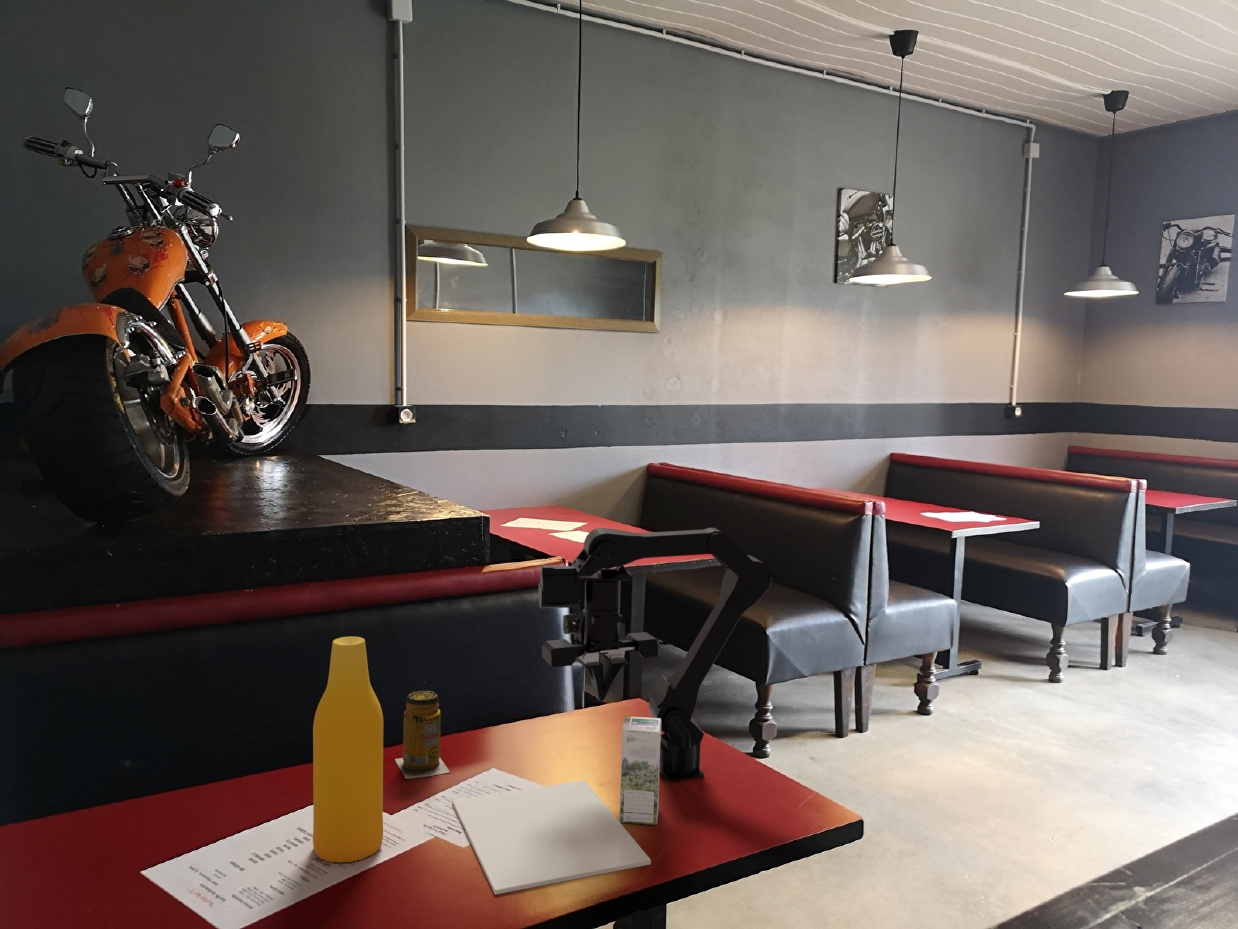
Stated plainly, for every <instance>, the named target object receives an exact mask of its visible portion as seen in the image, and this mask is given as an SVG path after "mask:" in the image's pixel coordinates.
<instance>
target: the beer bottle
mask: <svg viewBox="0 0 1238 929" xmlns="http://www.w3.org/2000/svg"><path fill="white" fill-rule="evenodd" d="M331 645H332V646H331V652H330V653H331V654H330V663H329V669H328V670H329V672H328V679H327V685H326V688H325V691H324V692H323V694H322V697H321V698H320V701H319V702H318V705H317V708H316V710H315V713H314V714H315V715H314V719H313V725H312V733H313V734H312V738H313V739H312V745H313V750H312V752H313V753H312V754H313V756H312V758H313V759H312V761H313V762H312V763H313V764H312V765H313V768H312V769H313V772H312V774H313V776H312V780H313V781H312V782H313V786H312V787H313V789H312V793H313V795H312V796H313V800H312V802H313V803H312V804H313V805H312V806H313V812H312V813H313V814H312V815H313V823H312V824H313V828H312V829H313V830H312V845H313V846H312V847H313V849H314V850H313V851H314V853H315V855H316V856H317V857H318V858H319V857H320V859H321V860H322V859H324V860H323V861H325V860H327V861H326V862H328V861H331V862H330V863H332V862H349V863H354V862H353V861H355V862H358V861H357V860H359V861H361V859H362V860H364V858H365V859H367V858H369V857H371V856H372V855H374V854H375V853H376V852H377V851H378V850H379V849H380V847H381V845H382V843H383V839H384V819H383V818H384V813H383V812H384V808H383V807H384V805H383V804H384V800H383V799H384V792H383V791H384V715H383V711H382V706H381V703H380V701H379V699H378V697H377V694H376V693H375V691H374V689H373V687H372V685H371V682H370V675H369V674H370V673H369V669H368V668H369V667H368V666H369V665H368V664H369V663H368V656H367V648H366V640H365V638H363V637H360V636H342V637H339V638H335V639H333V641H332V644H331ZM373 853H374V854H373ZM370 855H371V856H370ZM368 856H369V857H368ZM366 857H367V858H366Z"/></svg>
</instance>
